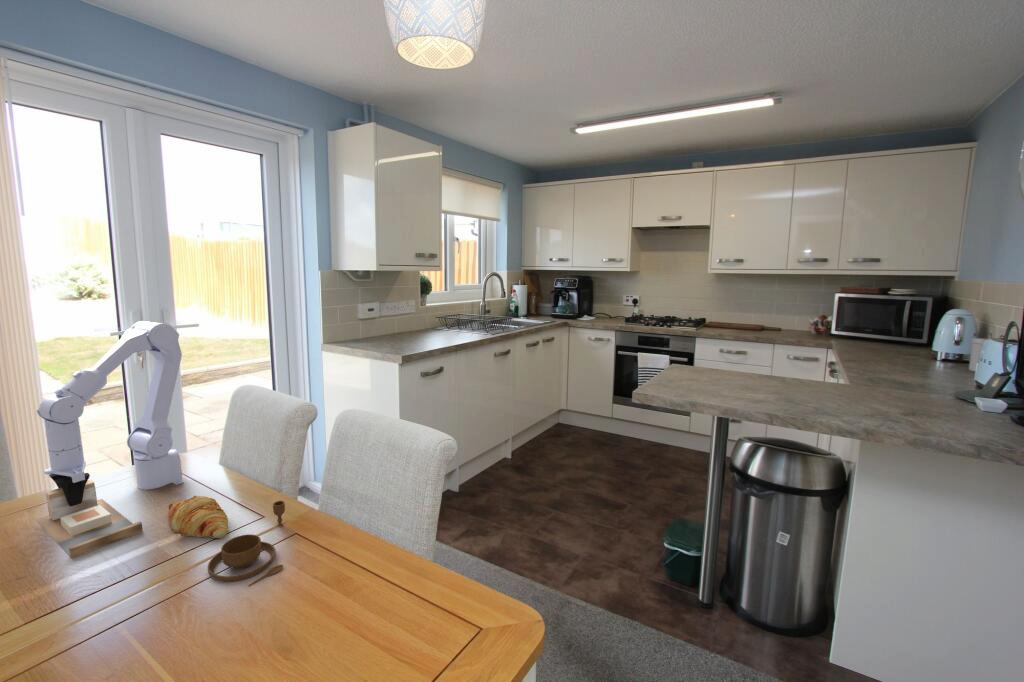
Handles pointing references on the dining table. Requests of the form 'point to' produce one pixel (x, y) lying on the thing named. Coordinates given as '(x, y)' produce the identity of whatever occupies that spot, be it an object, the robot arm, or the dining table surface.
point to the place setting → (246, 553)
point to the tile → (85, 520)
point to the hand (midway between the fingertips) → (73, 502)
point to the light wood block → (60, 505)
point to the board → (91, 532)
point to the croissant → (198, 517)
